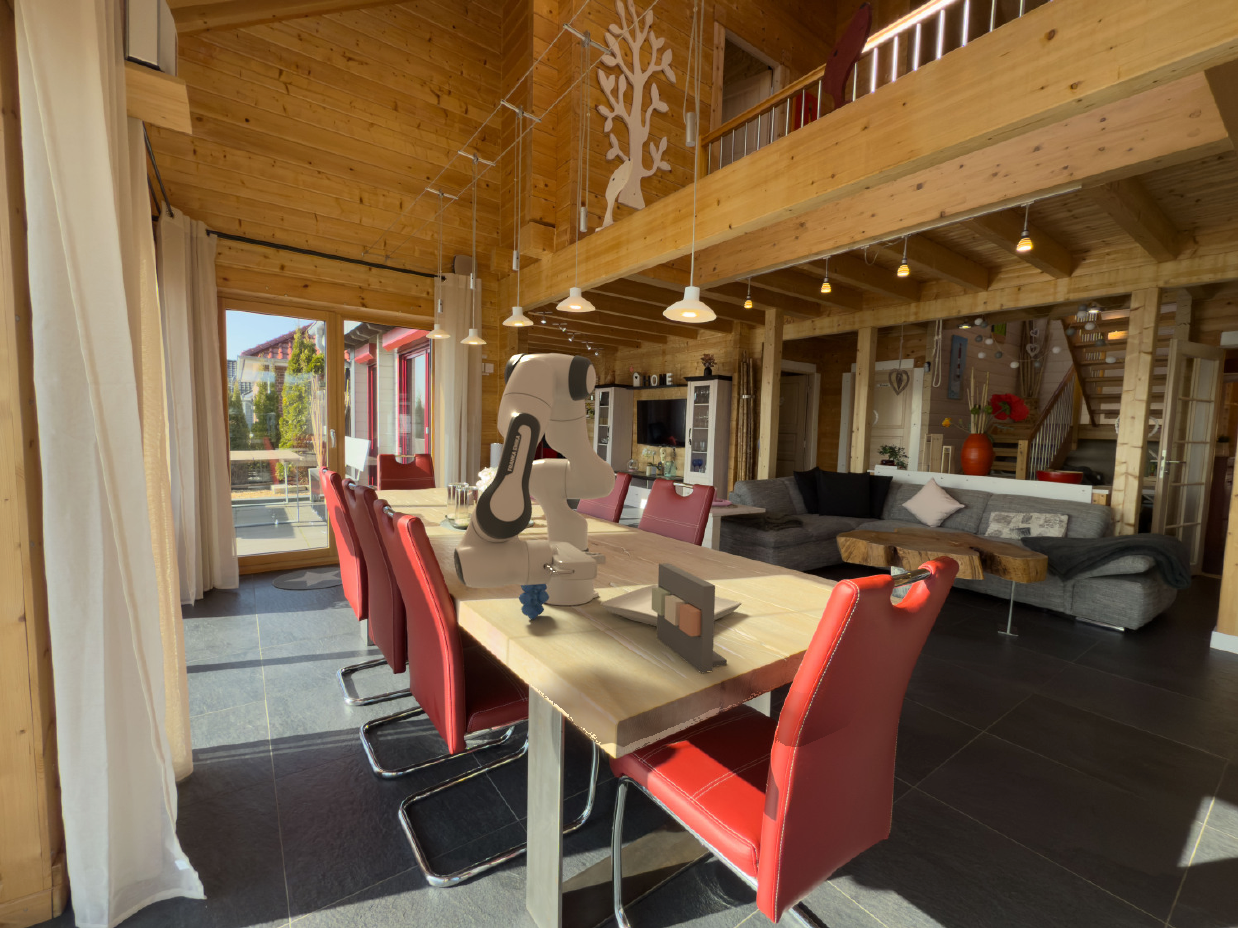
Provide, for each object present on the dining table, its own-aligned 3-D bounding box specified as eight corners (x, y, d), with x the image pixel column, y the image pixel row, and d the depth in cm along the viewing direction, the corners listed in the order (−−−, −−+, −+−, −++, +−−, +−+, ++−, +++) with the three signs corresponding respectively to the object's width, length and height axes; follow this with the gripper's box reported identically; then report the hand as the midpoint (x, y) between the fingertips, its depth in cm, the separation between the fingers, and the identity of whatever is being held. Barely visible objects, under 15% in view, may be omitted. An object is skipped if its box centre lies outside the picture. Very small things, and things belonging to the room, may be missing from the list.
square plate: (691, 642, 124) (691, 625, 124) (596, 616, 141) (597, 601, 141) (742, 614, 146) (743, 599, 146) (655, 594, 162) (656, 581, 162)
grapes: (537, 628, 130) (538, 578, 129) (512, 625, 132) (513, 575, 132) (559, 614, 141) (560, 567, 140) (535, 611, 143) (536, 565, 143)
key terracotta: (679, 628, 112) (679, 604, 112) (696, 626, 113) (697, 603, 113) (690, 636, 107) (691, 612, 107) (708, 634, 109) (709, 610, 109)
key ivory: (664, 618, 118) (665, 595, 118) (681, 616, 119) (681, 594, 119) (674, 625, 113) (675, 602, 113) (692, 623, 115) (692, 600, 115)
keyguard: (656, 637, 126) (658, 563, 125) (684, 634, 129) (686, 561, 128) (701, 673, 107) (703, 586, 107) (732, 668, 110) (735, 583, 109)
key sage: (651, 609, 124) (652, 587, 124) (667, 607, 125) (668, 586, 125) (660, 615, 120) (661, 593, 119) (677, 613, 121) (678, 592, 121)
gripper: (552, 556, 102) (622, 552, 107) (528, 537, 121) (588, 534, 126) (551, 590, 102) (621, 585, 107) (527, 566, 121) (587, 562, 126)
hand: (603, 557), depth 117 cm, fingers closed
